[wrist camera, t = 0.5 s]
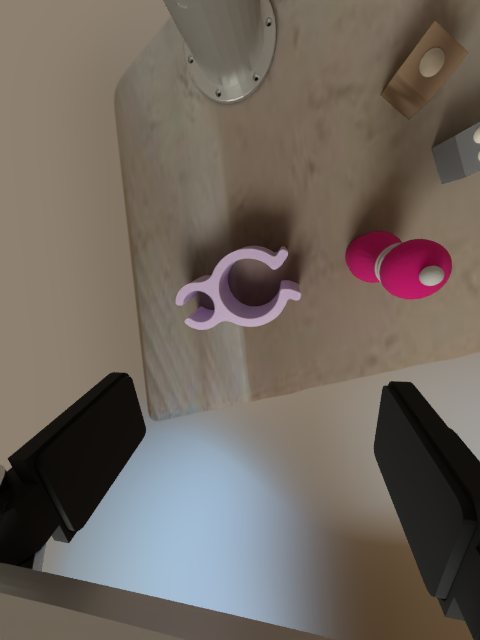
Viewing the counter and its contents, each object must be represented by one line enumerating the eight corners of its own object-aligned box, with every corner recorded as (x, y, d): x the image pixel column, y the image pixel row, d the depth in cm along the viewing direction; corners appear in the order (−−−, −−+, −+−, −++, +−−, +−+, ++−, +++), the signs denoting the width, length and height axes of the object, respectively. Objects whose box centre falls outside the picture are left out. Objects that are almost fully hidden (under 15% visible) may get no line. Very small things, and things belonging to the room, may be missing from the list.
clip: (207, 329, 49) (195, 344, 43) (181, 272, 46) (164, 279, 39) (303, 299, 44) (306, 311, 37) (282, 231, 40) (281, 232, 34)
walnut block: (380, 95, 32) (396, 72, 27) (412, 52, 30) (435, 19, 25) (408, 120, 32) (428, 101, 28) (441, 79, 30) (469, 51, 26)
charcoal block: (431, 148, 33) (455, 135, 28) (473, 124, 31) (506, 106, 27) (441, 184, 34) (466, 177, 29) (482, 162, 33) (516, 151, 28)
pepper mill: (350, 283, 41) (403, 328, 23) (335, 244, 39) (379, 258, 21) (395, 264, 39) (495, 297, 20) (382, 222, 37) (477, 216, 19)
